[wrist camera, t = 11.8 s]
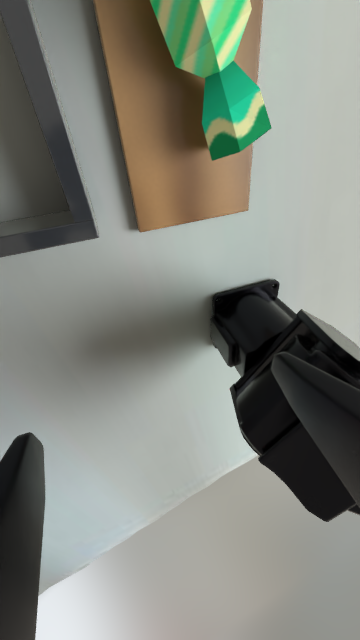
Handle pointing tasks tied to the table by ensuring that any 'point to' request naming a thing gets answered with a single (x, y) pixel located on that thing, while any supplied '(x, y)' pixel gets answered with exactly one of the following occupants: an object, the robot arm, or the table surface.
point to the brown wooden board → (170, 120)
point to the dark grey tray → (52, 119)
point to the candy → (216, 68)
